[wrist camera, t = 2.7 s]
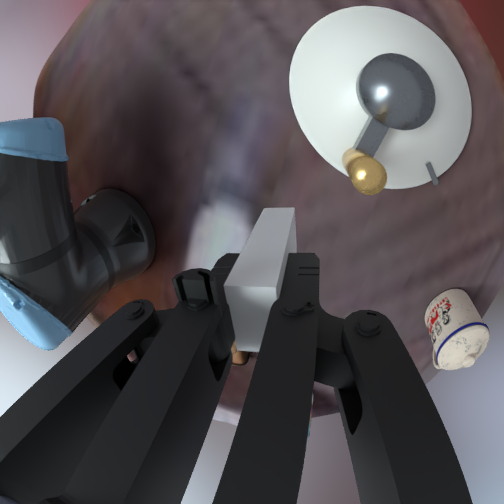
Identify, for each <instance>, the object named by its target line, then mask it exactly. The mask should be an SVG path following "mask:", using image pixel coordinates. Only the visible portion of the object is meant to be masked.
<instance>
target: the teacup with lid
mask: <svg viewBox="0 0 504 504" xmlns="http://www.w3.org/2000/svg"><path fill="white" fill-rule="evenodd" d="M425 323H426V326H427V329H428V332H429V334H430V337H431V340H432V343H433V346H434V350H433V363H434V366H435V367H436V368H437V369H446V370H456V369H459V368H462V367H470V366H472V365H473V364H474V363H475V360H476V359H477V358H478V357H479V356H480V355H481V354H482V353H483V351H484V350H485V348H486V346H487V345H488V342H489V335H490V333H489V329H488V327H487V325H486V324H484V322H483V320H482V319H481V317H480V315H479V313H478V311H477V310H476V308H475V306H474V304H473V303H472V301H471V299H470V298H469V296H468V294H467V293H466V292H465V291H463V290H461V289H450V290H447V291H445V292H443V293H441V294H439V295H438V296H437V297H436V298H434V299H433V301H432V302H431V303H430V304H429V306H428V308H427V310H426V313H425Z"/></svg>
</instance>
